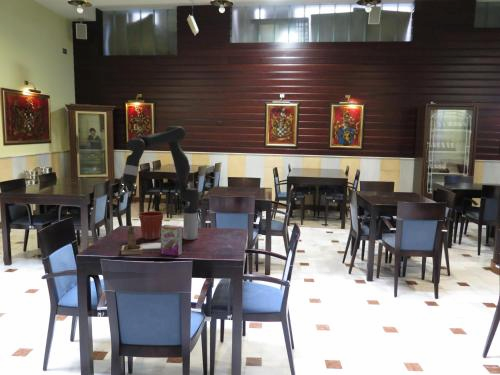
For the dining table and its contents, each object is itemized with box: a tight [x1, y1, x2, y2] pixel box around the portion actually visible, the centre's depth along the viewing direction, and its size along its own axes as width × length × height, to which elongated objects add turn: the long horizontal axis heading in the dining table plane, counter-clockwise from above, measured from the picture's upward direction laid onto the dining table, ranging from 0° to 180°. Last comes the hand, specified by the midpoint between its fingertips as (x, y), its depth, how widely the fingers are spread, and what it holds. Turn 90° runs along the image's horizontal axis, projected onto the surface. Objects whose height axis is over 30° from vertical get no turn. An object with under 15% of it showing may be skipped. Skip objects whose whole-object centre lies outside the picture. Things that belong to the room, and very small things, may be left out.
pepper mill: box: [127, 225, 137, 250], centre depth 243 cm, size 5×5×15 cm
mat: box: [140, 242, 161, 250], centre depth 256 cm, size 12×12×1 cm
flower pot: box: [137, 211, 165, 241], centre depth 277 cm, size 16×16×16 cm
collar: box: [120, 244, 143, 256], centre depth 244 cm, size 11×11×2 cm
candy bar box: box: [160, 224, 183, 257], centre depth 239 cm, size 11×5×16 cm, turn 74°
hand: (125, 203), depth 231 cm, fingers open, 8 cm apart
